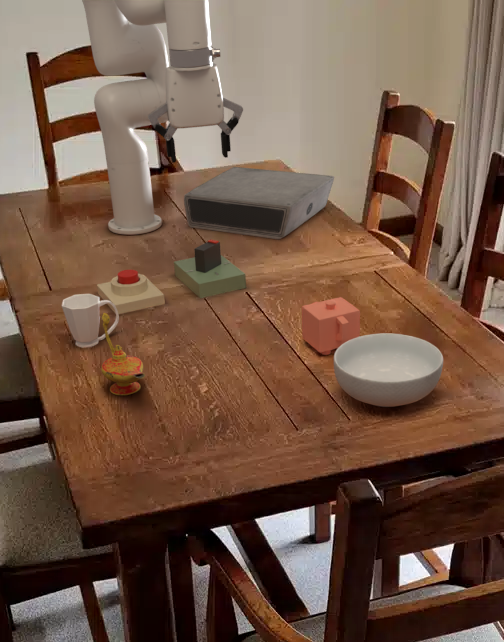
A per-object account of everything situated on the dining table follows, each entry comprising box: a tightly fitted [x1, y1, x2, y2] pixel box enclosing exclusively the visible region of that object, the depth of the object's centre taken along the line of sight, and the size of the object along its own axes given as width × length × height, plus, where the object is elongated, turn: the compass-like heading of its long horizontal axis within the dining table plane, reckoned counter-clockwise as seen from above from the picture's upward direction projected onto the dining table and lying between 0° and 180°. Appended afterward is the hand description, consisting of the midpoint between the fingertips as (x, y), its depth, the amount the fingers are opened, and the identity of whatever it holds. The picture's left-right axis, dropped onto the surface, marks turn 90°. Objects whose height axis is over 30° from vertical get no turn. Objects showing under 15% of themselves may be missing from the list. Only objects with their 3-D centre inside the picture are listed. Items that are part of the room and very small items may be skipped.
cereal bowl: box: [333, 332, 444, 408], centre depth 149 cm, size 17×17×7 cm
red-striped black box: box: [193, 239, 222, 273], centre depth 191 cm, size 6×2×5 cm, turn 145°
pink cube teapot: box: [301, 296, 361, 356], centre depth 165 cm, size 8×12×8 cm, turn 24°
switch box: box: [96, 273, 166, 315], centre depth 187 cm, size 12×10×4 cm
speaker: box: [183, 166, 335, 240], centre depth 223 cm, size 24×8×30 cm
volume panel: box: [173, 254, 247, 299], centre depth 193 cm, size 14×10×3 cm
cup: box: [61, 293, 120, 348], centre depth 171 cm, size 7×10×8 cm
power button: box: [117, 269, 139, 284], centre depth 186 cm, size 4×4×2 cm
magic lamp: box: [100, 312, 146, 396], centre depth 153 cm, size 7×18×11 cm, turn 25°
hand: (199, 158), depth 177 cm, fingers open, 9 cm apart
